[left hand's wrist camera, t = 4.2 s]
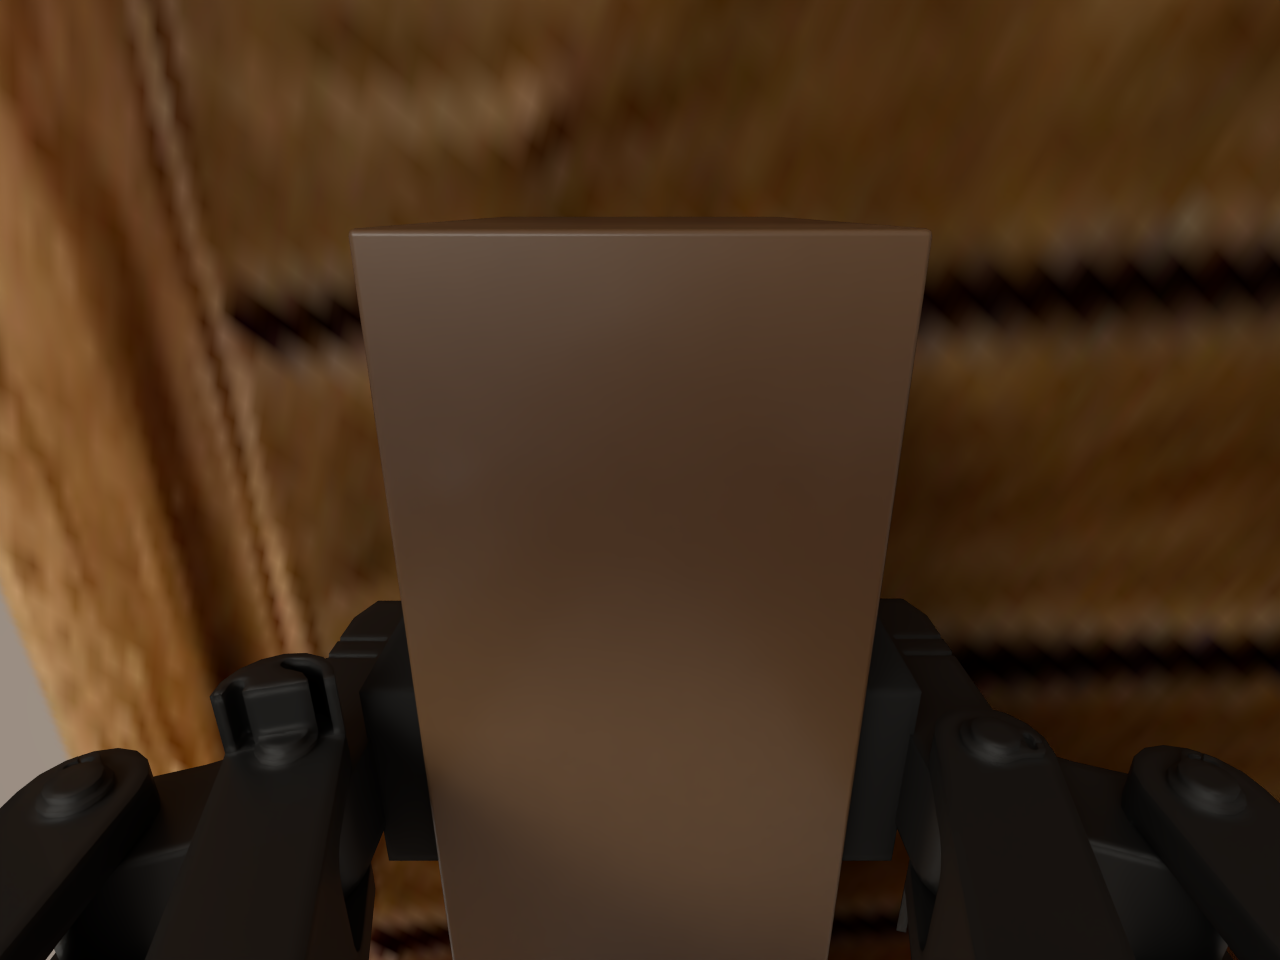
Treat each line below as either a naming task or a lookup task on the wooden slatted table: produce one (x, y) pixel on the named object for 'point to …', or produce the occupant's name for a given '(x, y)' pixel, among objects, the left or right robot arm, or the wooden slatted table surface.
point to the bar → (640, 562)
